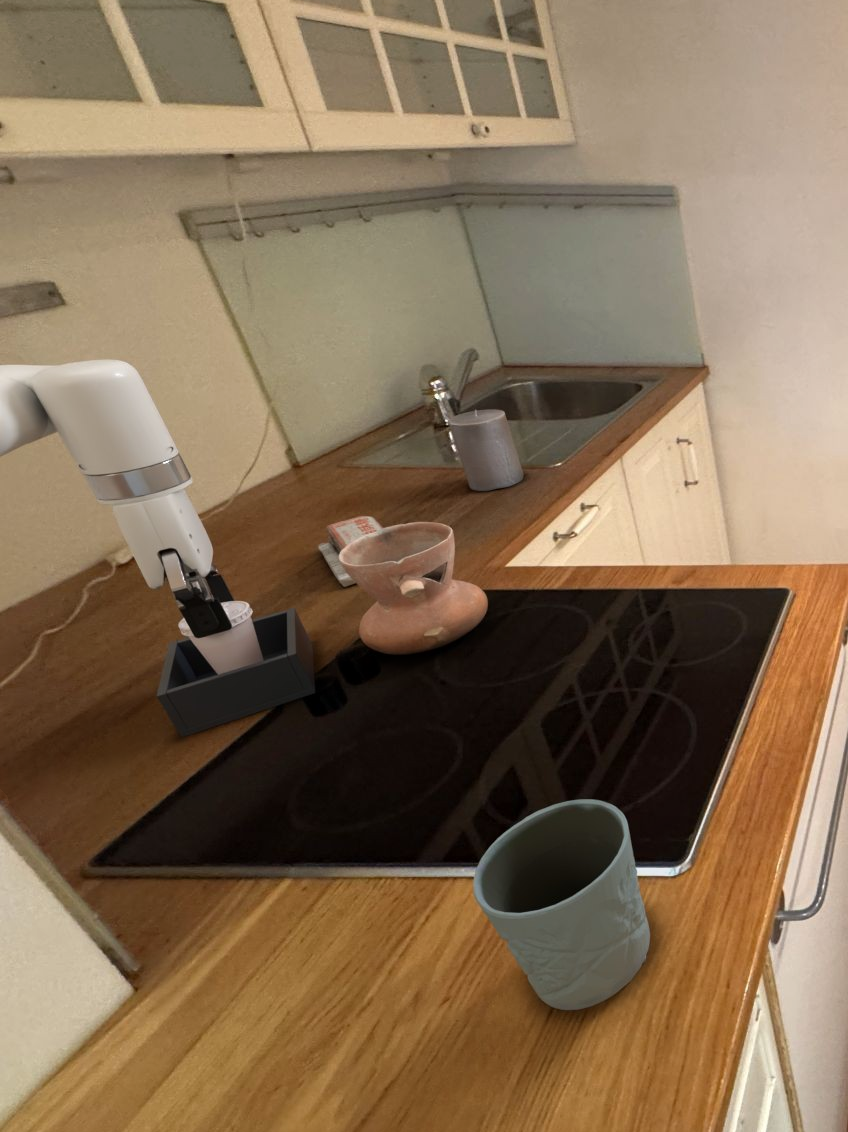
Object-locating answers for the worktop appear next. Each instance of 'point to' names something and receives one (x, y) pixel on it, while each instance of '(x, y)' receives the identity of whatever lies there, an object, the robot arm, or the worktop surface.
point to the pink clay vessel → (412, 588)
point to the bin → (237, 677)
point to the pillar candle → (486, 449)
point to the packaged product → (345, 542)
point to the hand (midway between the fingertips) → (215, 619)
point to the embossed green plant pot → (567, 901)
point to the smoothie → (229, 639)
